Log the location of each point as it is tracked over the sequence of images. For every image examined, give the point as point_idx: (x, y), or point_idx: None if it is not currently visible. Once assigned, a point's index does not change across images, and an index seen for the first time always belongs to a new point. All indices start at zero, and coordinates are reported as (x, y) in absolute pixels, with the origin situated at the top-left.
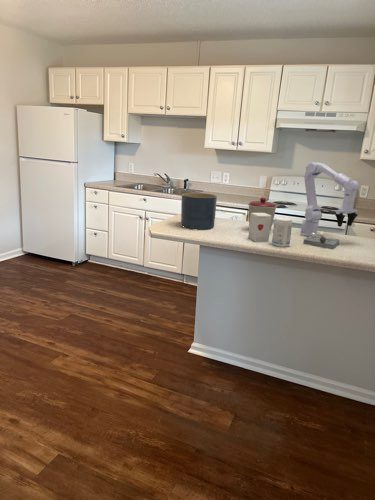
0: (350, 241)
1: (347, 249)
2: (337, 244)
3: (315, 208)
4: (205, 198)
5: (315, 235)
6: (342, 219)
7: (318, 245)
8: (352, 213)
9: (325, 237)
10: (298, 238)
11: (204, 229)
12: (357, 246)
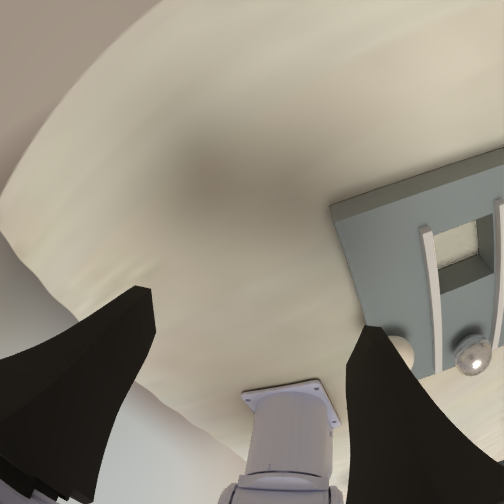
0: (142, 216)
1: (431, 60)
2: (393, 186)
3: None
4: None
5: (484, 342)
6: (434, 428)
7: None
8: (30, 483)
9: (374, 323)
10: (424, 389)
11: (502, 461)
12: (230, 71)
